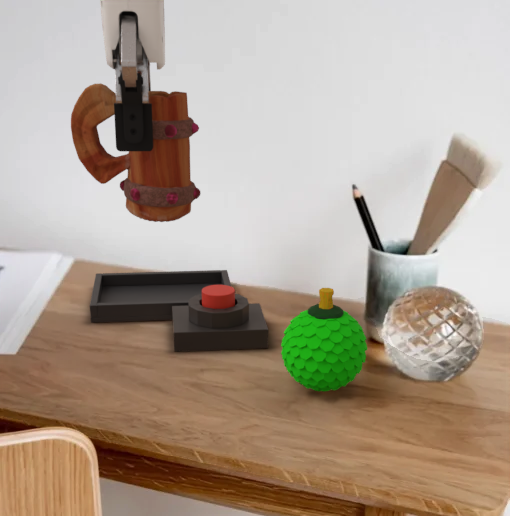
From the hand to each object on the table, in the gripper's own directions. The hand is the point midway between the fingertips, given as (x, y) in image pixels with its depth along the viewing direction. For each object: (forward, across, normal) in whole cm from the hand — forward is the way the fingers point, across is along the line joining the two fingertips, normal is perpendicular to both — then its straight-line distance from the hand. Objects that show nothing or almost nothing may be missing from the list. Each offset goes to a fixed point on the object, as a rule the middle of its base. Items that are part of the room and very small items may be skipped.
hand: (136, 141), depth 77 cm
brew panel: (+22, +7, -8) cm, 25 cm away
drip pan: (+22, +18, -2) cm, 29 cm away
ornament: (+22, -7, -17) cm, 29 cm away
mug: (+7, 0, 0) cm, 7 cm away
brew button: (+19, +7, -8) cm, 21 cm away
